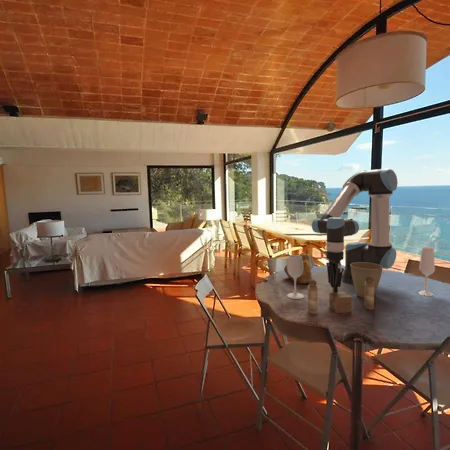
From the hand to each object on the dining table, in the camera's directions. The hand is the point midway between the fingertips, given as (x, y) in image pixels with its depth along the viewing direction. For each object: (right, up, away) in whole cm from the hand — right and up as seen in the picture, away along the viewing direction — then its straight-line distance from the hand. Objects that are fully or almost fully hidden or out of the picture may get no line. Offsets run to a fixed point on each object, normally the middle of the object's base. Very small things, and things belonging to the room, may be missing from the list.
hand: (334, 299), depth 141 cm
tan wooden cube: (+1, -3, -5) cm, 6 cm away
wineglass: (-15, -2, +14) cm, 20 cm away
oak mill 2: (+14, -3, -4) cm, 15 cm away
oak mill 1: (-12, -4, -7) cm, 15 cm away
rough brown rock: (-7, +1, +44) cm, 44 cm away
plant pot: (+20, -1, +12) cm, 23 cm away
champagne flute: (+51, 0, +12) cm, 53 cm away
